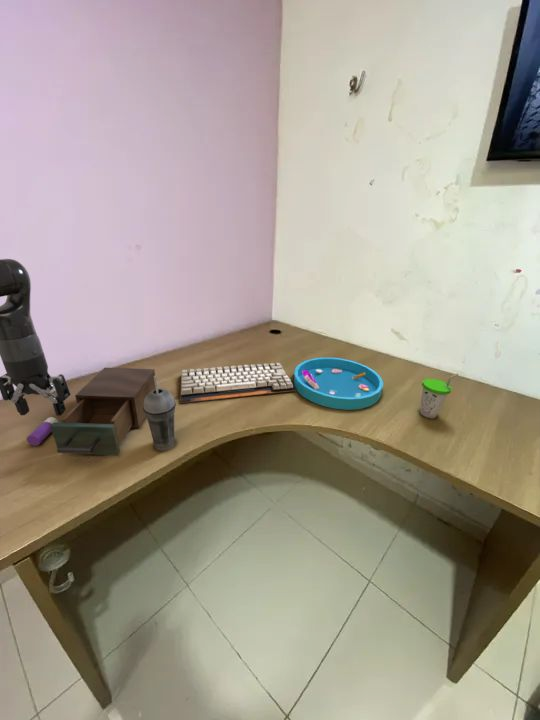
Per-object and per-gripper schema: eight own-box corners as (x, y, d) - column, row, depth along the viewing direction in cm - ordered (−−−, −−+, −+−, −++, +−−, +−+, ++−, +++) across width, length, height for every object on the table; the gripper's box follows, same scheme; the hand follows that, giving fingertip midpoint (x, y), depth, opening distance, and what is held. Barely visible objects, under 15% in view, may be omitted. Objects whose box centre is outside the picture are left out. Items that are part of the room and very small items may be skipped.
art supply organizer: (283, 369, 118) (284, 355, 116) (354, 364, 125) (357, 350, 123) (311, 414, 92) (313, 397, 89) (399, 404, 99) (403, 388, 96)
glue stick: (42, 443, 75) (33, 433, 74) (32, 447, 75) (23, 438, 74) (61, 424, 82) (53, 415, 80) (52, 428, 82) (44, 419, 81)
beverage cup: (180, 434, 81) (174, 365, 73) (178, 453, 75) (170, 380, 66) (151, 436, 80) (141, 367, 72) (146, 455, 74) (134, 382, 65)
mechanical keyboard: (180, 404, 94) (179, 394, 92) (180, 375, 111) (179, 367, 109) (297, 392, 103) (298, 383, 102) (280, 367, 120) (281, 359, 119)
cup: (409, 412, 95) (421, 368, 89) (422, 404, 100) (434, 362, 93) (434, 425, 90) (449, 379, 83) (446, 416, 94) (461, 372, 88)
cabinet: (139, 428, 83) (133, 397, 79) (83, 426, 82) (74, 395, 78) (158, 396, 97) (154, 369, 93) (110, 395, 97) (104, 367, 92)
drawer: (109, 468, 68) (102, 440, 65) (46, 466, 68) (36, 438, 65) (141, 417, 85) (137, 393, 82) (91, 416, 85) (85, 391, 82)
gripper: (64, 347, 73) (80, 405, 80) (2, 346, 72) (24, 404, 79) (44, 361, 66) (63, 423, 73) (-25, 359, 65) (1, 422, 72)
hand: (43, 413), depth 76 cm, fingers open, 8 cm apart
